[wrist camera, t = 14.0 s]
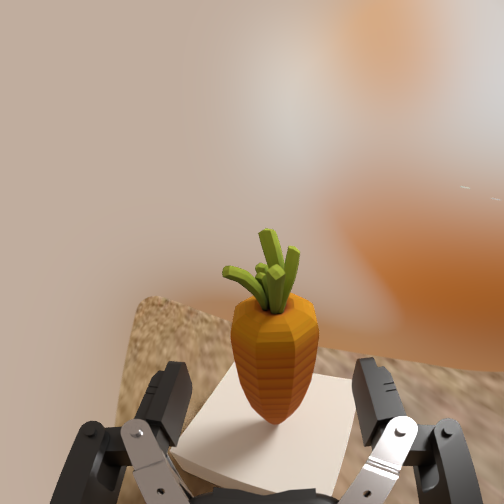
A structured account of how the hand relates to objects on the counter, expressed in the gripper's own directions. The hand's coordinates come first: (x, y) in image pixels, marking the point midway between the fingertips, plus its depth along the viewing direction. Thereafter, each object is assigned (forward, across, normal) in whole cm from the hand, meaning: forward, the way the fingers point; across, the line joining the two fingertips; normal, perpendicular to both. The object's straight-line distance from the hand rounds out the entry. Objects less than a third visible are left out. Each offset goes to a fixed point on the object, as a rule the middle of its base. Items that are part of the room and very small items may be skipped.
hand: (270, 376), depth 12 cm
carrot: (+3, 0, +10) cm, 10 cm away
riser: (+4, 0, +14) cm, 14 cm away
